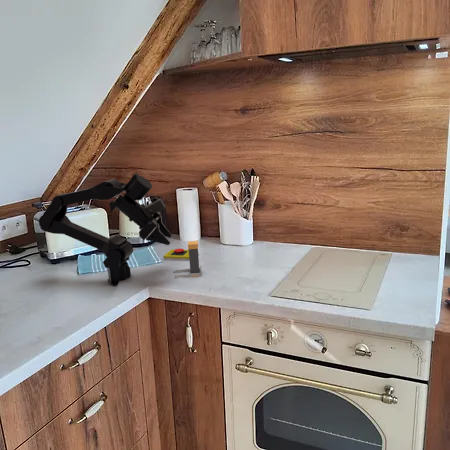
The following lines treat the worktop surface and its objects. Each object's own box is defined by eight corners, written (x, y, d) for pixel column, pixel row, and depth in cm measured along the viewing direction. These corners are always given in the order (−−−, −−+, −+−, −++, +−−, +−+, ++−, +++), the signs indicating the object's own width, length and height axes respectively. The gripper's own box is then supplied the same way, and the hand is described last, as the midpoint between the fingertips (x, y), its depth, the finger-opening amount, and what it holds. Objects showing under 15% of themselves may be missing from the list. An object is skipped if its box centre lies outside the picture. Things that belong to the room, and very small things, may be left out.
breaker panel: (171, 282, 152) (170, 273, 152) (172, 275, 159) (171, 267, 158) (202, 280, 153) (202, 271, 152) (202, 273, 160) (201, 264, 159)
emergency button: (167, 246, 181) (204, 246, 177) (168, 256, 182) (205, 257, 178) (158, 253, 172) (196, 254, 168) (159, 264, 173) (197, 265, 169)
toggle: (190, 275, 154) (187, 244, 151) (190, 272, 158) (188, 241, 155) (200, 275, 154) (197, 244, 152) (199, 271, 158) (197, 240, 155)
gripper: (146, 196, 139) (185, 229, 142) (151, 186, 157) (186, 215, 161) (122, 223, 141) (162, 255, 144) (130, 210, 159) (165, 239, 162)
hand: (170, 240), depth 153 cm, fingers open, 9 cm apart
